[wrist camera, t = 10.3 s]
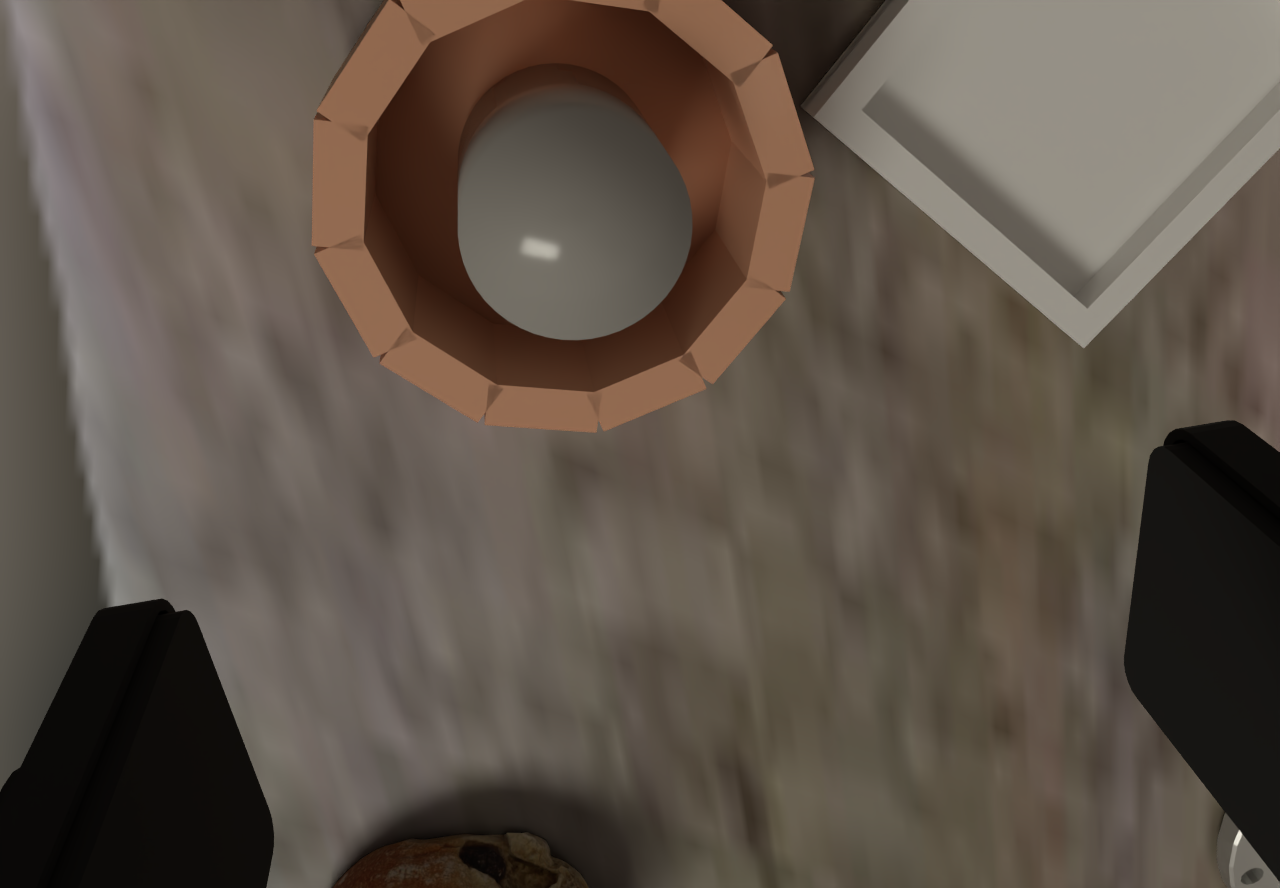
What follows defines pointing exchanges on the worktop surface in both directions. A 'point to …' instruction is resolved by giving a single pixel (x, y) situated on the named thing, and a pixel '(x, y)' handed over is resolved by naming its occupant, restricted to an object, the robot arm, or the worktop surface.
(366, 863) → the bread roll
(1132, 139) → the parts tray
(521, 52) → the bowl
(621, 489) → the worktop surface
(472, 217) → the grey cylinder
